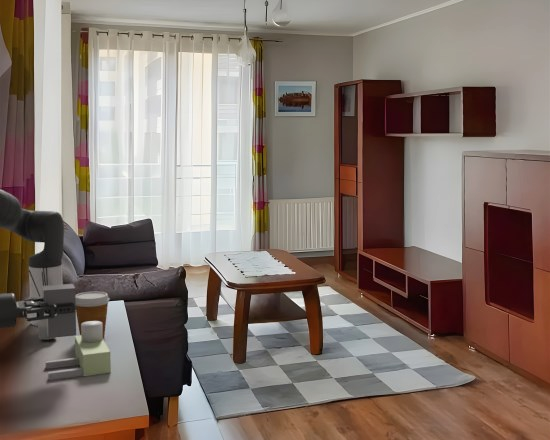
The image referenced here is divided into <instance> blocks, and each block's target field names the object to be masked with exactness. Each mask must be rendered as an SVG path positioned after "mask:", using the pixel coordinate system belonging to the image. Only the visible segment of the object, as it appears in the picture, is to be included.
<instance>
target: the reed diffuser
mask: <svg viewBox="0 0 550 440" xmlns="http://www.w3.org/2000/svg"><path fill="white" fill-rule="evenodd" d="M29 272H30V270H29V269H28V273H29ZM43 274H44V279H43ZM30 275H31V272H30ZM31 277H32V275H31ZM46 279H47V266H46ZM32 280H33V282H34V279H33V277H32ZM42 280H43V286H44V282H45V286H46V281H45V273H44V268H43V272H42ZM34 285H35V287H36V284H35V282H34ZM47 286H48V279H47ZM36 290H37V292H38V289H37V287H36ZM38 294H39V292H38ZM39 297H40V294H39ZM37 329H38V338H39V339H40V340H43V341H44V340H53V339H54V338H48V335H47V322H46V319H43V320H42V321H41V322H40V323H39V325H38V326H37Z"/></svg>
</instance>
